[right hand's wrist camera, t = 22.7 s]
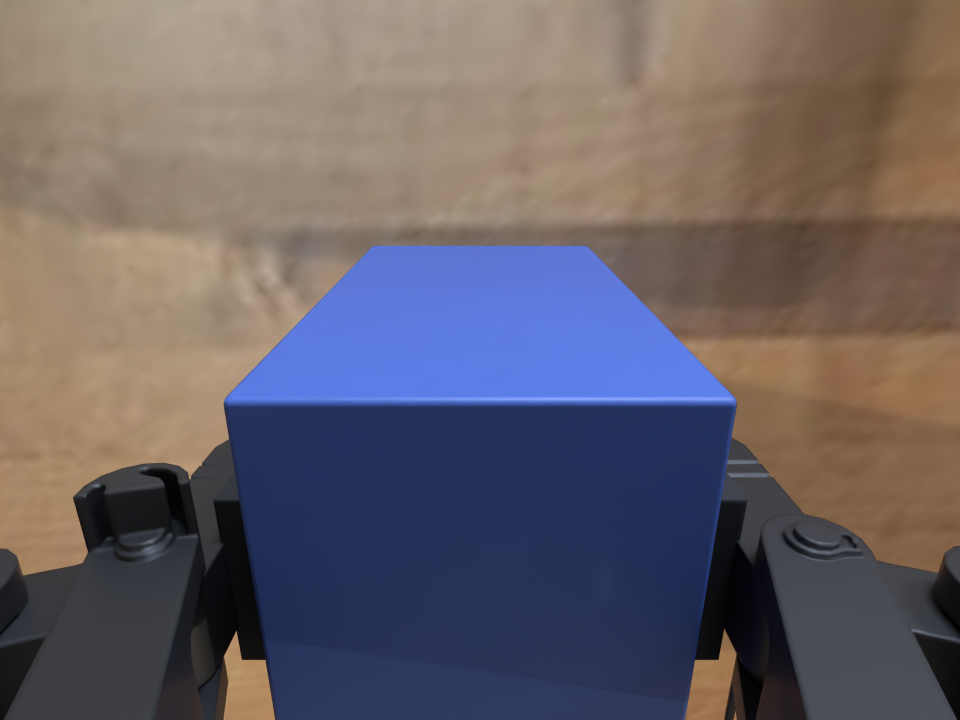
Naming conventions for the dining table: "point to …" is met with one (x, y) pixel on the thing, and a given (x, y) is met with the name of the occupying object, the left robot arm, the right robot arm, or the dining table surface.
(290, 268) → the dining table surface
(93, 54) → the dining table surface
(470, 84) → the dining table surface
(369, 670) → the brick
